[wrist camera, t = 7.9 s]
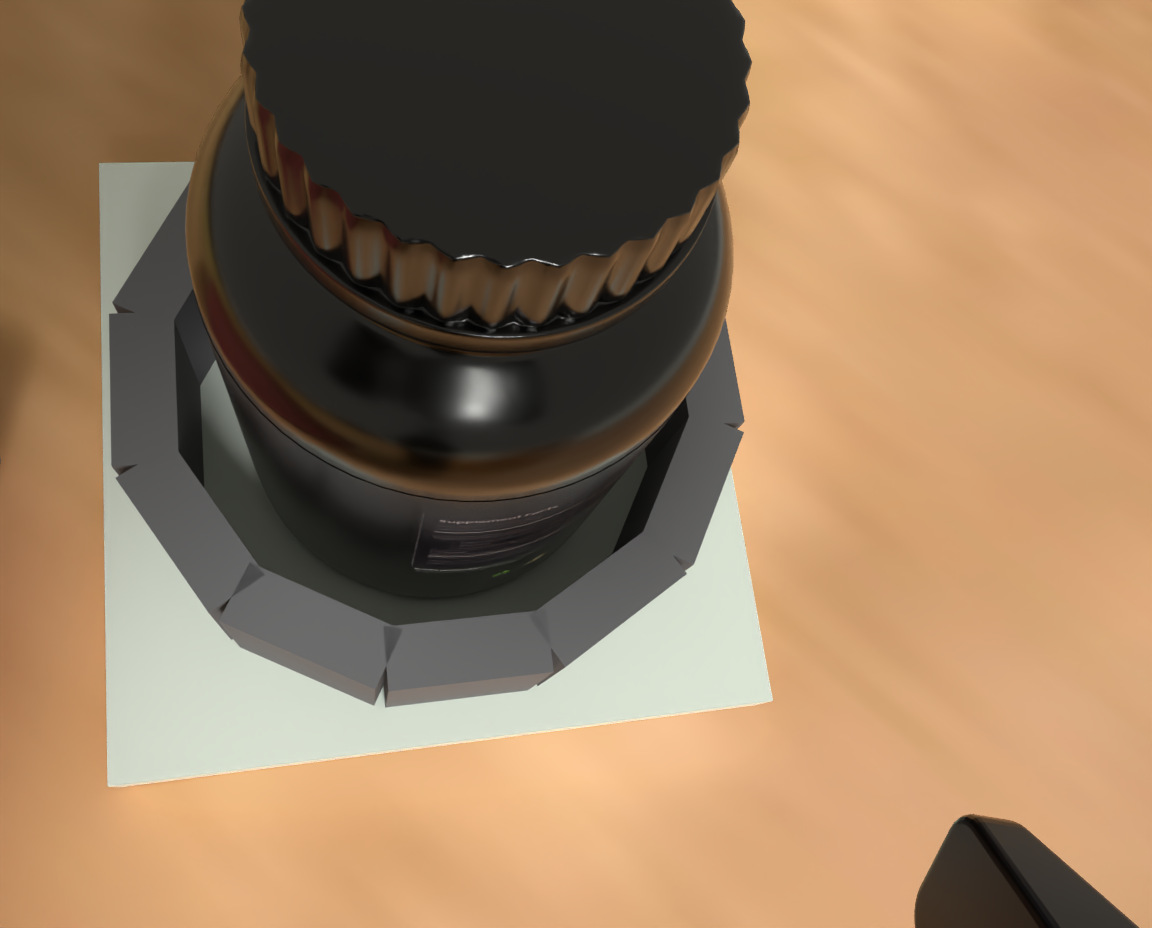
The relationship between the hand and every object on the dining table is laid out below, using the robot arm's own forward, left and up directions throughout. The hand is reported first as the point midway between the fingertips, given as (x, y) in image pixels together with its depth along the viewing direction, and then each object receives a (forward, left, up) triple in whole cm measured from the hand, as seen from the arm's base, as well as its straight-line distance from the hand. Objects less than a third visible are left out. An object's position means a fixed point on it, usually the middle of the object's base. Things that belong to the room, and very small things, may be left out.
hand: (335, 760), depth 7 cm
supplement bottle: (+2, +6, -13) cm, 14 cm away
